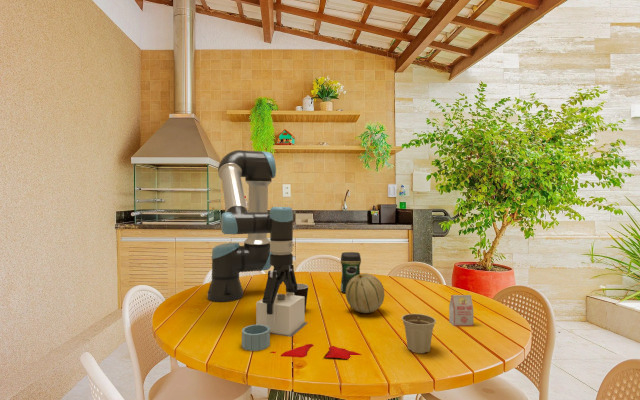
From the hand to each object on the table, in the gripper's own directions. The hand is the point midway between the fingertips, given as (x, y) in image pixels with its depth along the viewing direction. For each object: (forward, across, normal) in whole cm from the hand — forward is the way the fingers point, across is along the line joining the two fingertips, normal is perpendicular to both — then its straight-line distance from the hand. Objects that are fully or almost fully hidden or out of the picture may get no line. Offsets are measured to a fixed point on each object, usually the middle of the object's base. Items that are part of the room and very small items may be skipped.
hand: (281, 317), depth 111 cm
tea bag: (+4, +27, -56) cm, 62 cm away
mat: (+4, 0, 0) cm, 4 cm away
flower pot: (+4, +1, -44) cm, 44 cm away
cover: (+3, 0, 0) cm, 3 cm away
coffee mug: (+4, +18, +2) cm, 18 cm away
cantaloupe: (+4, +27, -22) cm, 35 cm away
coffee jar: (+4, +53, -9) cm, 54 cm away
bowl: (+4, -15, 0) cm, 16 cm away
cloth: (+5, -13, -17) cm, 22 cm away
